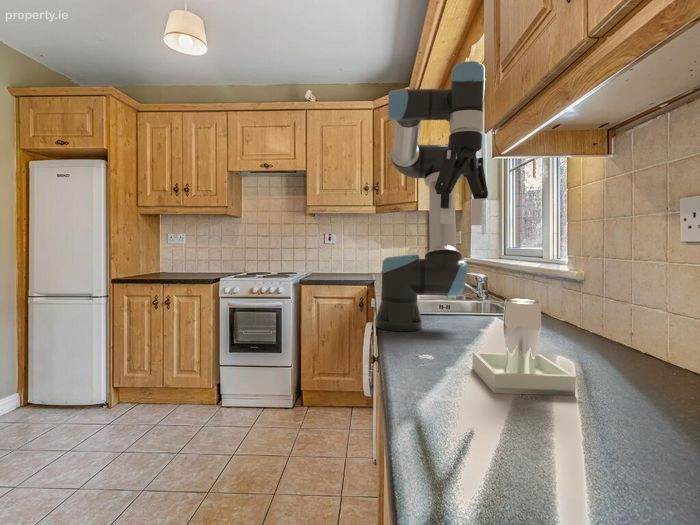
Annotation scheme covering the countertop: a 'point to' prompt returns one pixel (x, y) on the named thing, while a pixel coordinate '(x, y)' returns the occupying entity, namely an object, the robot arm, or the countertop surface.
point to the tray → (523, 376)
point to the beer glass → (521, 334)
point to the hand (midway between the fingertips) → (461, 224)
